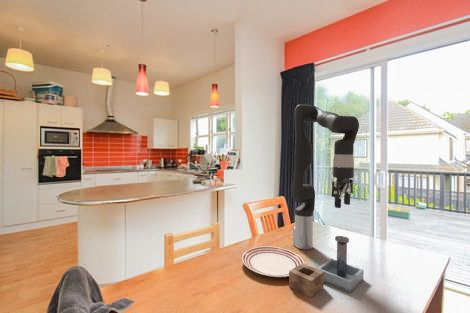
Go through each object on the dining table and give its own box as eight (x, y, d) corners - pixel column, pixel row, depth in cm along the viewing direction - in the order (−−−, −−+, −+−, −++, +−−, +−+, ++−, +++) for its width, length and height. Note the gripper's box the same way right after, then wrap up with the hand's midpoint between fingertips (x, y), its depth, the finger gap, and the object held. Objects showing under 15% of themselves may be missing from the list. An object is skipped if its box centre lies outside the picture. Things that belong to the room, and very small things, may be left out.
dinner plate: (315, 265, 104) (315, 258, 104) (283, 292, 84) (283, 283, 84) (265, 247, 123) (265, 241, 123) (229, 266, 103) (229, 258, 102)
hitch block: (289, 286, 87) (289, 270, 87) (302, 278, 93) (302, 263, 93) (311, 297, 80) (311, 280, 80) (323, 287, 86) (323, 271, 86)
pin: (332, 274, 93) (333, 237, 93) (338, 270, 97) (338, 235, 97) (345, 279, 90) (345, 241, 90) (350, 275, 93) (351, 238, 93)
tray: (316, 278, 93) (316, 268, 93) (331, 267, 101) (331, 258, 101) (350, 293, 83) (350, 282, 83) (363, 279, 92) (363, 269, 92)
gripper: (341, 164, 100) (340, 202, 101) (325, 166, 91) (324, 207, 91) (360, 165, 95) (359, 205, 95) (345, 167, 85) (344, 211, 86)
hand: (342, 206), depth 93 cm, fingers open, 8 cm apart
